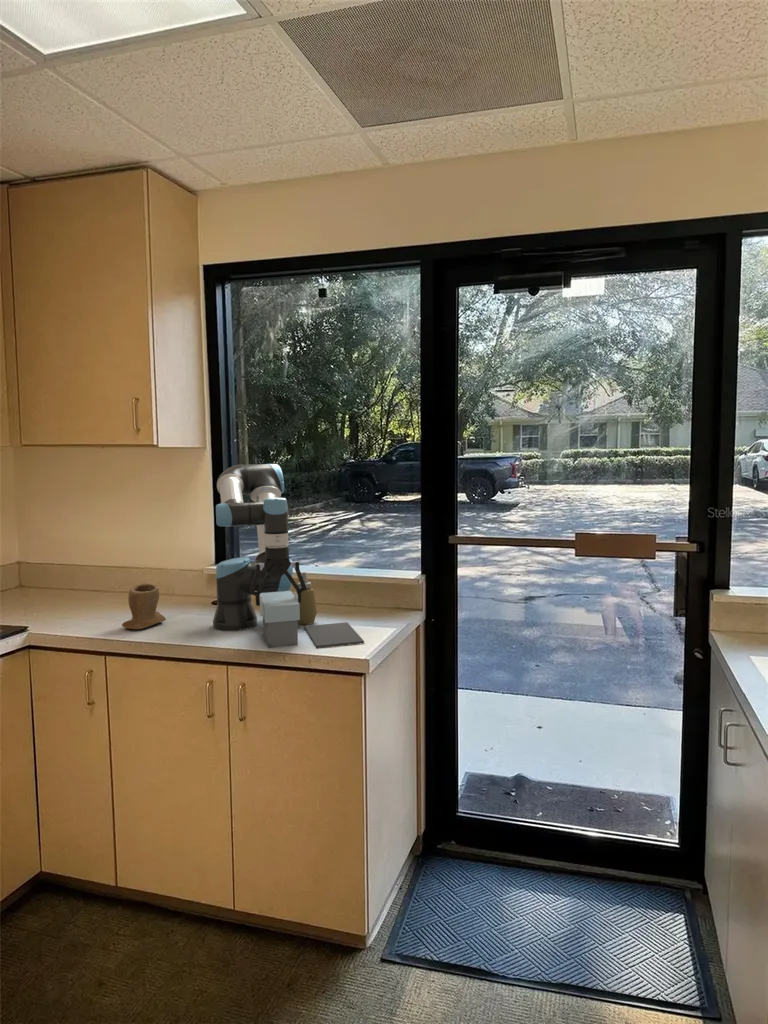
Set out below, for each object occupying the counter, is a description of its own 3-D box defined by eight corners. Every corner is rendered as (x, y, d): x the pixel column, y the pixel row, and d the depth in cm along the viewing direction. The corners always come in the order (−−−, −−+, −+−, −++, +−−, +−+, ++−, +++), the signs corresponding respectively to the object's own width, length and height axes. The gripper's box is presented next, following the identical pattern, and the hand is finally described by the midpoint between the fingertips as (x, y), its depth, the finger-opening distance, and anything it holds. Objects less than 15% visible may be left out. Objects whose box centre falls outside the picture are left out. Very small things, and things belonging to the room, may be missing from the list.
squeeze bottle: (297, 627, 223) (296, 575, 222) (291, 621, 231) (289, 571, 229) (320, 624, 227) (318, 573, 225) (313, 619, 234) (311, 569, 232)
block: (259, 607, 217) (259, 593, 217) (291, 605, 220) (291, 590, 219) (265, 623, 198) (264, 606, 198) (299, 619, 201) (299, 604, 201)
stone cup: (142, 633, 219) (140, 589, 218) (117, 629, 225) (114, 587, 223) (175, 622, 233) (173, 581, 231) (150, 619, 238) (148, 579, 237)
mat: (304, 628, 222) (304, 626, 222) (347, 624, 226) (347, 622, 226) (316, 648, 199) (316, 645, 199) (364, 643, 203) (363, 641, 203)
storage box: (263, 632, 217) (262, 606, 216) (290, 630, 219) (289, 604, 219) (268, 648, 200) (267, 619, 199) (297, 645, 202) (296, 616, 201)
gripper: (240, 550, 200) (243, 620, 202) (314, 545, 206) (316, 613, 209) (239, 546, 207) (241, 614, 210) (310, 542, 214) (312, 608, 216)
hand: (279, 613), depth 209 cm, fingers closed on block, 11 cm apart
